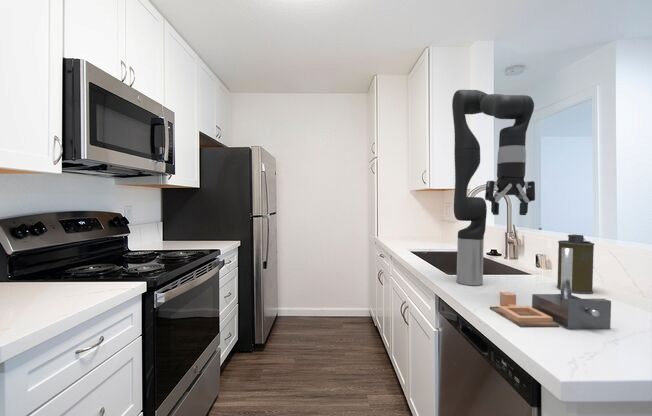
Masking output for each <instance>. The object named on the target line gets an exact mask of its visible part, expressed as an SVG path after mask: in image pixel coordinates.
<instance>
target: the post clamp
mask: <svg viewBox="0 0 652 416" xmlns="http://www.w3.org/2000/svg"><path fill="white" fill-rule="evenodd" d="M572 262H573V249H572V248H562V259H561V290H560V293H555V294H554V293H532V294H531V299H532V300H531V301H532V302H531V307H532V308H534V309H536V310H538V311H540V312H542V313H544V314H546V315H548V316H550V317H552V318H553V322H555V323H557V324H559V327H562V328H565V329H567V330H611V319H612V301H611V300H609V299H606V298H582V297H578V296H575V295H573V293H572Z"/></svg>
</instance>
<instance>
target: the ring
mask: <svg viewBox="0 0 652 416" xmlns="http://www.w3.org/2000/svg"><path fill="white" fill-rule="evenodd" d="M497 307H498V311H500V312H502V313H503V314H505V315H507V316H508V317H510V318H512V319H514V320H515V321H517V322H553V318H552V317H550V316H548V315H546V314H544V313H542V312H540V311H538V310H536V309H534V308H532V306H529V305H527V306H524V305H522V306H520V305H519V306H518V305H517V294H515V293H513V292H511V291H499V306H497ZM514 312H528V313H530V314H532V315H534V316H520V315H518V314H516V313H514Z"/></svg>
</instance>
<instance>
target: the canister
mask: <svg viewBox="0 0 652 416" xmlns="http://www.w3.org/2000/svg"><path fill="white" fill-rule="evenodd" d="M567 238H568V240H558V241H557V243H558V248H557V249H558V251H557V254H558V255H557V257H558V258H557V284H556V285H557V286H556V288H557V289H558V290H560V291H561V259H562V248H572V249H573V262H572V294H578V295H579V294H582V295H591V294H593V293H594V291H593V287H594V286H593V281H594V249H595V247H594V246H595V243H593V242H591V241H588V240H586V239H585V238H584V235H583V234H567Z"/></svg>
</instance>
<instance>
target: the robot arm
mask: <svg viewBox="0 0 652 416" xmlns="http://www.w3.org/2000/svg"><path fill="white" fill-rule="evenodd" d="M451 103H452V104H451V107H452V118H453V127H454V130H453V131H454V150H453V151H454V154H453V155H454V195H453V197H454V198H453V214H454V218H455V219H456V221H459V222H460V221H462V222H470V224H469V225H468V226H466V227H465V228H461V229H459V230H458V231H457V251H456V253H457V254H456V256H457V257H456V282H457V283H458V284H461V285H465V286H476V287H477V286H482V285H483V284H484V247H485V246H484V244H485V243H484V239H485V233H486V225H487V216H488V215H487V208H488V206H487V202H486V201H488V202H490V204H491V205H490V206H491V208H490V211H491V212H490V213H491V214H492V215H493V216H499V215H500V203H499V201H501V199H502V198H503V197H505V196H515V198H517V199H518V201H520V202H519V212H518V213H519V215H520V216H526V215H527V214H528V210H529V203H530V202H533V201H535V200H536V182H535V181H534V180H532V181H531V180H529V181H525V177H526V163H527V160H526V159H527V150H526V139H527V137H526V136H527V131H528V128H529V125H530V121H531V118H532V117H533V114H534V113H533V112H534V110H535V109H534V108H535V102H534V100H533V98H532V97H531V96H530V95H528V94H527V95H525V94H523V95H522V94H520V95H519V94H500V93H491V94H488V93H486V92H484V91H482V90H479V89H458V90H456V91H455V92H454V94H453V97H452V100H451ZM476 114H484V115H485V116H490V117H494V118H495V119H499V120H514V123H513V125H511V126H506V127H503V128H501V129H500V130H499V136H498V151H497V159H496V160H497V162H496V178H497V179H496V181H494V180H487V181H486V184H485V194H484V198H483V197H480V196H478V197H477V196H468V187H469V184H470V181H471V180H472V178H473V177H474V175H475V173H476V172H477V170H478V169H479V167H480V165H481V146H480V143H479V140H478V139H477V138H476V135H474V133H473V132H472V130H471V129H470V127H469V125H468V123H467V119H466V115H476ZM496 187H497V190H496V191H495V189H496ZM524 188H525V189H524Z"/></svg>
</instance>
